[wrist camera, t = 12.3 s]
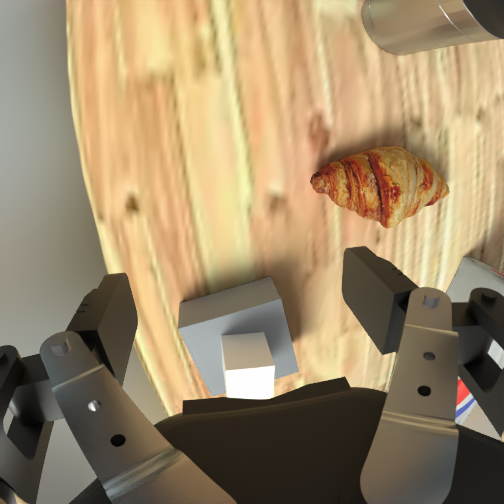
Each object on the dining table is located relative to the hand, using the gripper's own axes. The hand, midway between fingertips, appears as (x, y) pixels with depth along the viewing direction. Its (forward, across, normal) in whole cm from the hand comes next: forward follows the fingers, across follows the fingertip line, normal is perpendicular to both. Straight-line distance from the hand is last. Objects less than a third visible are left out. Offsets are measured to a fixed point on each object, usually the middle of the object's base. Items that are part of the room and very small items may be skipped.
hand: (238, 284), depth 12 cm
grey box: (+26, -1, +20) cm, 33 cm away
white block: (+20, -1, +20) cm, 28 cm away
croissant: (+27, -21, +3) cm, 34 cm away
